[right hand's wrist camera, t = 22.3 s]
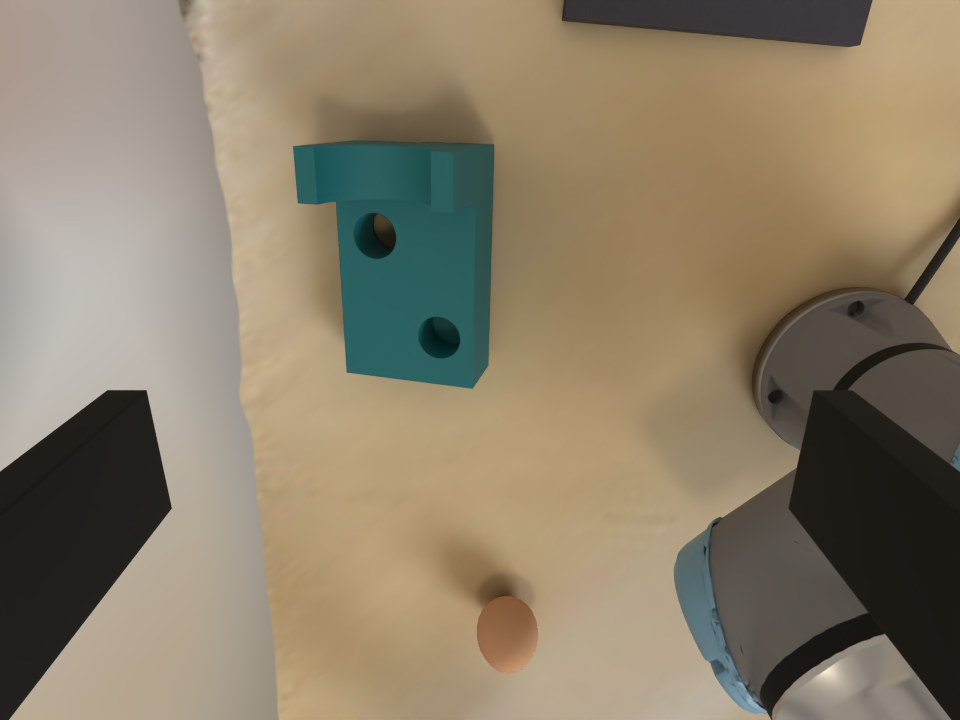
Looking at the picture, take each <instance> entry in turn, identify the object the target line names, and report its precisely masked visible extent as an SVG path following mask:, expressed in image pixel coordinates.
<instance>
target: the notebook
mask: <svg viewBox="0 0 960 720" xmlns="http://www.w3.org/2000/svg"><path fill="white" fill-rule="evenodd" d="M871 3H872V0H564V8H563V16H562V21H570V22H581V23H592V24H603V25H614V26H625V27H636V28H647V29H658V30H669V31H679V32H690V33H701V34H712V35H723V36H734V37H745V38H756V39H767V40H778V41H789V42H800V43H810V44H821V45H832V46H843V47H851V46H857V45H860V44H861V40H862V36H863V33H864V29H865V25H866V22H867V18H868V14H869V11H870V7H871Z"/></svg>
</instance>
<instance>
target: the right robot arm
mask: <svg viewBox="0 0 960 720" xmlns="http://www.w3.org/2000/svg"><path fill="white" fill-rule="evenodd" d="M959 237H960V218H959V220H958V221H957V223H956V224H955V226H954V227H953V229H952V230H951V232H950V233H949V235H948V236H947V238H946V239H945V241H944V242H943V244H942V245H941V247H940V248H939V250H938V251H937V253H936V254H935V256H934V257H933V259H932V260H931V262H930V263H929V265H928V266H927V267H926V269H925V270H924V272H923V273H922V275H921V276H920V278H919V279H918V281H917V282H916V283H915V285H914V286H913V288H912V289H911V291H910V292H909V294H908V295H907V296H906V298H905V299H904V300H903V299H901V298H899V297H897V296H895V295H893V294H890V293H887V292H885V291H881V290H877V289H871V288H846V289H839V290H835V291H831V292H828V293H825V294H822V295H820V296H817V297H815V298H813V299H811V300H809V301H807V302H805V303H804V304H802V305H800V306H799V307H797V308H796V309H795V310H793V311H792V312H791V313H789V314H788V315H787V316H786V317H785V318H784V319H783V320H782V321H781V322H780V323H779V324H778V325H777V326H776V327H775V328H774V329H773V331H772V332H771V333H770V335H769V336H768V338H767V339H766V341H765V342H764V344H763V346H762V348H761V350H760V352H759V355H758V357H757V360H756V363H755V368H754V373H753V394H754V399H755V403H756V405H757V408H758V410H759V412H760V414H761V416H762V417H763V419H764V420H765V422H766V423H767V424H768V425H769V426H770V427H771V428H772V430H773V431H774V432H775V433H776V434H777V435H778V436H779V437H780V438H781V439H783V440H784V441H785V442H787V443H788V444H790V445H792V446H793V447H795V448H797V449H799V450H801V451H800V456H799V461H798V465H797V468H796V469H794V470H793V471H791V472H790V473H788V474H787V475H786V476H784V477H783V478H781V479H780V480H778V481H777V482H775V483H774V484H772V485H771V486H769V487H768V488H766V489H765V490H763V491H762V492H760V493H759V494H757V495H756V496H754V497H753V498H751V499H750V500H748V501H747V502H745V503H744V504H743V505H741V506H740V507H738V508H737V509H735V510H734V511H732V512H731V513H729V514H728V515H726V516H725V517H723V518H721V517H719V518H717V519H715V520H713V521H712V522H711V523H710V525H709V526H708V528H707V529H706V530H705V531H703V532H702V533H701V534H699V535H698V536H697V537H695V538H694V539H693V540H691V541H690V542H689V543H687V544H686V545H685V546H684V547H683V548H682V549H681V550H680V552H679V553H678V556H677V560H676V563H675V566H674V581H675V587H676V592H677V596H678V600H679V603H680V606H681V609H682V612H683V615H684V617H685V620H686V622H687V625H688V627H689V629H690V631H691V634H692V636H693V638H694V640H695V642H696V644H697V646H698V648H699V650H700V652H701V654H702V656H703V657H704V658H705V660H707V661H709V662H710V663H711V667H712V669H713V672H714V674H715V677H716V678H717V680H718V681H719V683H720V684H721V686H722V687H723V688H724V690H725V691H726V692H727V693H728V695H729V696H730V697H731V698H732V699H733V700H734V701H735V702H736V703H737V704H738V705H739V706H740V707H741V708H743V709H744V710H746V711H749V712H751V713H753V714H758V713H761V714H766V713H768V715H769V716H770V718H771V720H960V355H959V354H957V353H955V352H953V351H952V350H951V348H950V347H949V346H948V344H947V343H946V341H945V340H944V339H943V337H942V336H941V334H940V333H939V332H938V330H937V329H936V328H935V326H934V325H933V323H932V322H931V321H930V320H929V318H928V317H927V316H926V315H925V314H924V313H923V312H922V311H920V310H919V309H918V308H917V307H916V306H914V305H913V304H914V303H915V301H916V300H917V298H918V297H919V296H920V294H921V293H922V291H923V290H924V288H925V287H926V285H927V284H928V283H929V281H930V280H931V278H932V277H933V275H934V274H935V272H936V271H937V270H938V268H939V267H940V265H941V264H942V262H943V261H944V259H945V258H946V256H947V255H948V253H949V252H950V251H951V249H952V248H953V246H954V245H955V243H956V242H957V240H958V239H959ZM171 509H172V507H171V502H170V498H169V493H168V489H167V484H166V479H165V475H164V470H163V465H162V461H161V456H160V451H159V447H158V442H157V437H156V433H155V428H154V423H153V419H152V414H151V409H150V405H149V400H148V395H147V391H146V390H107V391H106V392H105V393H103V394H102V395H101V396H99V397H98V398H97V399H95V400H94V401H93V402H91V403H90V404H89V405H87V406H86V407H85V408H84V409H82V410H81V411H80V412H78V413H77V414H76V415H74V416H73V417H72V418H70V419H69V420H68V421H66V422H65V423H64V424H62V425H61V426H60V427H58V428H57V429H56V430H54V431H53V432H52V433H51V434H49V435H48V436H47V437H45V438H44V439H43V440H41V441H40V442H39V443H37V444H36V445H35V446H33V447H32V448H31V449H29V450H28V451H27V452H25V453H24V454H23V455H21V456H20V457H19V458H18V459H16V460H15V461H14V462H12V463H11V464H10V465H8V466H7V467H6V468H4V469H3V470H2V471H0V720H9V719H10V718H11V716H12V715H13V714H14V712H15V711H16V710H17V709H18V707H19V706H20V705H21V703H22V702H23V701H24V700H25V698H26V697H27V696H28V694H29V693H30V692H31V690H32V689H33V688H34V687H35V685H36V684H37V683H38V681H39V680H40V679H41V677H42V676H43V675H44V674H45V672H46V671H47V670H48V668H49V667H50V666H51V664H52V663H53V662H54V661H55V659H56V658H57V657H58V655H59V654H60V653H61V651H62V650H63V649H64V648H65V646H66V645H67V644H68V642H69V641H70V640H71V638H72V637H73V636H74V635H75V633H76V632H77V631H78V629H79V628H80V627H81V626H82V624H83V623H84V622H85V620H86V619H87V618H88V616H89V615H90V614H91V613H92V611H93V610H94V609H95V607H96V606H97V605H98V603H99V602H100V601H101V600H102V598H103V597H104V596H105V594H106V593H107V592H108V590H109V589H110V588H111V586H112V585H113V584H114V583H115V581H116V580H117V579H118V577H119V576H120V575H121V573H122V572H123V571H124V570H125V568H126V567H127V566H128V564H129V563H130V562H131V561H132V559H133V558H134V557H135V555H136V554H137V553H138V551H139V550H140V549H141V548H142V546H143V545H144V544H145V542H146V541H147V540H148V538H149V537H150V536H151V535H152V533H153V532H154V531H155V529H156V528H157V527H158V526H159V524H160V523H161V522H162V520H163V519H164V518H165V516H166V515H167V514H168V513H169V511H170V510H171Z"/></svg>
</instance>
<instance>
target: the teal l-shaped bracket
mask: <svg viewBox="0 0 960 720" xmlns="http://www.w3.org/2000/svg"><path fill="white" fill-rule="evenodd" d="M293 150H294V162H295V174H296V186H297V197H298V203H302V204H322V203H327V202H335V201H336V209H337V225H338V241H339V257H340V272H341V288H342V304H343V320H344V336H345V352H346V368H347V372H348V373H355V374H363V375H371V376H379V377H387V378H394V379H402V380H410V381H418V382H425V383H433V384H441V385H449V386H457V387H464V388H472V389H473V387H474V386H475V384H476V383H477V381H478V380H479V378H480V377H481V375H482V374H483V372H484V371H485V370H486V368H487V367H488V357H489V319H490V282H491V245H492V208H493V171H494V144H465V143H437V142H424V143H407V142H379V141H344V142H334V143H323V144H312V145H301V146H293ZM377 213H378V214H381V215H383V216H384V217H386V218H387V219H388V220H389V221H390V222H391V223H392V225H393V227H394V229H395V233H396V244H395V247H394V249H389V248H386V247H384V246H383V245H382V244H381V243H380V242H379V241H378V240H377V238H376V237H375V234H374V231H373V221H374V218H375V216H376V214H377Z"/></svg>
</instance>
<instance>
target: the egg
mask: <svg viewBox="0 0 960 720" xmlns="http://www.w3.org/2000/svg"><path fill="white" fill-rule="evenodd" d="M537 638H538V630H537V623H536V619H535V617H534V615H533V613H532V611H531V609H530V608H529V607H528V606H527V605H526V604H525V603H524V602H523V601H522V600H520V599H518V598H516V597H512V596H501V597H497V598H495V599H493V600H492V601H490V602H489V603H488V604H487V605H486V606H485V607H484V609H483V610H482V612H481V614H480V616H479V619H478V624H477V639H478V644H479V647H480V650H481V652H482V654H483V656H484V657H485V659H486V660H487V662H488V663H489V664H490V665H491V666H492V667H493V668H495V669H496V670H498V671H500V672H505V673H513V672H516V671H519V670H521V669H522V668H523V667H525V665H526V664H527V663H528V662H529V661H530V659H531V657H532V655H533V653H534V651H535V649H536V646H537Z"/></svg>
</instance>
